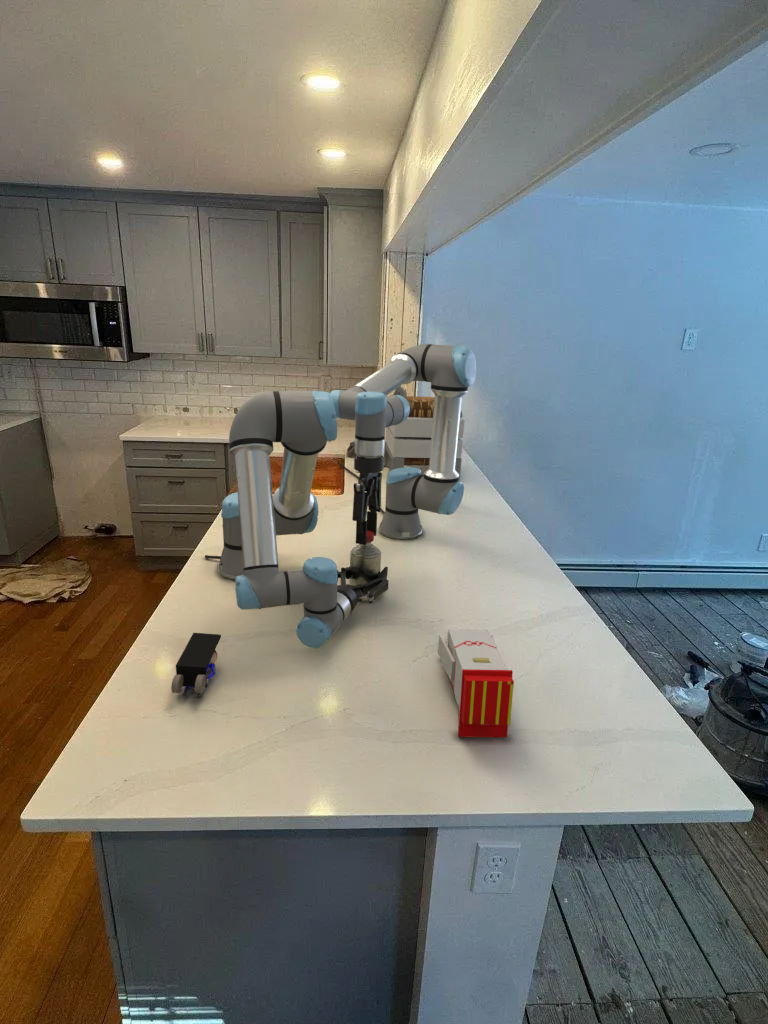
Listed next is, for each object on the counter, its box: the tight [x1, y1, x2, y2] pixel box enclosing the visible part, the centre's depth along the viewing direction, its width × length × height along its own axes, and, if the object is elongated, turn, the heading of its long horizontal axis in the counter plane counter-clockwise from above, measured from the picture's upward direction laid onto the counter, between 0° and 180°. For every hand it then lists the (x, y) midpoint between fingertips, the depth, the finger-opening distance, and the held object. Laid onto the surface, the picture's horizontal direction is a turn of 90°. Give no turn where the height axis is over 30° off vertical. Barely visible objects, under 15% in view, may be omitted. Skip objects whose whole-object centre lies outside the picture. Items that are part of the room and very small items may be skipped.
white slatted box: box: [383, 385, 465, 482], centre depth 268 cm, size 34×33×41 cm
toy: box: [437, 628, 515, 738], centre depth 117 cm, size 12×13×30 cm
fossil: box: [346, 441, 356, 458], centre depth 305 cm, size 22×10×15 cm
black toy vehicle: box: [170, 632, 222, 699], centre depth 117 cm, size 7×8×15 cm
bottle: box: [349, 542, 382, 603], centre depth 154 cm, size 8×8×18 cm
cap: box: [367, 531, 375, 543], centre depth 151 cm, size 4×4×2 cm
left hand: (371, 568), depth 159 cm, fingers closed on bottle, 8 cm apart
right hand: (366, 539), depth 151 cm, fingers open, 6 cm apart
